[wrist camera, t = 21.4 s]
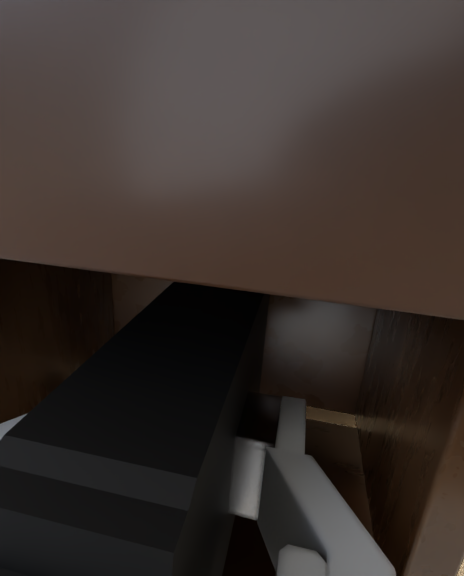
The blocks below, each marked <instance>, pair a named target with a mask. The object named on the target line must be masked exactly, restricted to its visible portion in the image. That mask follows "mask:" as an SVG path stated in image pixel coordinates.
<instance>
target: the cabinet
mask: <svg viewBox="0 0 464 576" xmlns="http://www.w3.org/2000/svg"><path fill="white" fill-rule="evenodd" d="M0 258H1V259H8V260H16V261H23V262H31V263H38V264H46V265H53V266H61V267H68V268H76V269H83V270H91V271H98V272H106V273H113V274H121V275H128V276H136V277H143V278H151V279H159V280H166V281H174V282H181V283H189V284H196V285H204V286H211V287H219V288H226V289H234V290H241V291H249V292H256V293H264V294H271V295H279V296H286V297H294V298H301V299H309V300H316V301H324V302H332V303H339V304H347V305H354V306H362V307H369V308H377V309H384V310H392V311H399V312H407V313H414V314H422V315H429V316H437V317H444V318H452V319H459V320H464V0H0Z"/></svg>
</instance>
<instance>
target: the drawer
mask: <svg viewBox="0 0 464 576" xmlns="http://www.w3.org/2000/svg"><path fill="white" fill-rule="evenodd" d="M173 282H174V281H166V280H159V279H151V278H143V277H136V276H128V275H121V274H113V273H106V272H98V271H91V270H83V269H76V268H68V267H61V266H53V265H46V264H38V263H31V262H23V261H16V260H8V259H1V258H0V424H1V423H3V422H6V421H9V420H11V419H14V418H17V417H19V416H22V415H25V414H27V413H29V412H30V411H31V410H32V409H33V408H34V407H35V406H37V405H38V404H39V403H40V402H41V401H42V400H43V399H44V398H45V397H47V396H48V395H49V394H50V393H51V392H52V391H53V390H54V389H55V388H57V387H58V386H59V385H60V384H61V383H62V382H63V381H64V380H65V379H67V378H68V377H69V376H70V375H71V374H72V373H73V372H74V371H75V370H76V369H78V368H79V367H80V366H81V365H82V364H83V363H84V362H85V361H86V360H88V359H89V358H90V357H91V356H92V355H93V354H94V353H95V352H96V351H98V350H99V349H100V348H101V347H102V346H103V345H104V344H105V343H106V342H108V341H109V340H110V339H111V338H112V337H113V336H114V335H115V334H116V333H117V332H119V331H120V330H121V329H122V328H123V327H124V326H125V325H126V324H127V323H129V322H130V321H131V320H132V319H133V318H134V317H135V316H136V315H137V314H139V313H140V312H141V311H142V310H143V309H144V308H145V307H146V306H147V305H149V304H150V303H151V302H152V301H153V300H154V299H155V298H156V297H157V296H158V295H160V294H161V293H162V292H163V291H164V290H165V289H166V288H167V287H168V286H170V285H171V284H172V283H173ZM259 393H264V394H270V395H276V396H281V400H282V396H286V397H293V398H299V399H305V401H306V406H310V407H315V408H321V409H326V410H332V411H337V412H343V413H349V414H354V415H355V419H356V426H357V428H354V427H348V426H343V425H337V424H332V423H327V422H321V421H316V420H311V419H306V428H305V455H310V456H312V457H313V458H314V459H315V461H316V462H317V463H318V465H319V466H320V467H321V469H322V470H323V471H324V473H325V474H326V476H327V477H328V478H329V480H330V481H331V482H332V484H333V485H334V486H335V488H336V489H337V490H338V492H339V493H340V495H341V496H342V497H343V499H344V500H345V501H346V503H347V504H348V505H349V507H350V508H351V510H352V511H353V512H354V514H355V515H356V516H357V518H358V519H359V520H360V522H361V523H362V524H363V526H364V527H365V529H366V530H367V531H368V533H369V534H370V535H371V537H372V538H373V539H374V541H375V542H376V543H377V545H378V546H379V548H380V549H381V550H382V552H383V553H384V554H385V556H386V557H387V558H388V560H389V561H390V562H391V564H392V565H393V567H394V568H395V571H396V576H457V574H458V571H459V569H460V566H461V564H462V562H463V559H464V320H459V319H452V318H444V317H437V316H429V315H422V314H414V313H407V312H399V311H392V310H384V309H377V308H369V307H362V306H354V305H347V304H339V303H332V302H324V301H316V300H309V299H301V298H294V297H286V296H279V295H271V294H270V295H269V305H268V315H267V324H266V334H265V343H264V353H263V362H262V372H261V381H260V391H259ZM278 422H279V421H278ZM275 574H276V571H275V569H274V566H273V563H272V561H271V558H270V555H269V553H268V550H267V548H266V545H265V542H264V540H263V537H262V534H261V532H260V529H259V526H258V524H257V521H256V520H253V519H249V518H245V517H242V516H238V515H235V519H234V524H233V528H232V533H231V537H230V542H229V547H228V551H227V556H226V560H225V565H224V569H223V574H222V576H275Z"/></svg>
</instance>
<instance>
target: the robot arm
mask: <svg viewBox="0 0 464 576" xmlns="http://www.w3.org/2000/svg"><path fill="white" fill-rule="evenodd" d="M280 406H281V407H280ZM279 413H280V414H279ZM27 414H28V413H27ZM27 414H25V415H22V416H19V417H17V418H14V419H11V420H9V421H6V422H3V423H1V424H0V440H1V439H2V437H3V436H4V434H6V433H7V432H8V431H9V430H10V429H11V428H12V427H13V426H14V425H16V424H17V423H18V422H19V421H20V420H21V419H22V418H23V417H24V416H26V415H27ZM278 421H279V422H278ZM305 428H306V401H305V399H299V398H293V397H286V396H282V400H281V396H276V395H270V394H264V393H258V392H252V391H248V394H247V397H246V401H245V404H244V408H243V411H242V415H241V419H240V422H239V426H238V429H237V433H236V437H235V443H234V455H233V467H232V479H231V491H230V503H229V513H230V514H234V515H238V516H242V517H245V518H249V519H253V520H256V521H257V524H258V526H259V529H260V532H261V534H262V537H263V540H264V542H265V545H266V548H267V550H268V553H269V555H270V558H271V561H272V563H273V566H274V569H275V571H276V574H275V576H396V571H395V568H394V567H393V565H392V564H391V562H390V561H389V560H388V558H387V557H386V556H385V554H384V553H383V552H382V550H381V549H380V548H379V546H378V545H377V543H376V542H375V541H374V539H373V538H372V537H371V535H370V534H369V533H368V531H367V530H366V529H365V527H364V526H363V524H362V523H361V522H360V520H359V519H358V518H357V516H356V515H355V514H354V512H353V511H352V510H351V508H350V507H349V505H348V504H347V503H346V501H345V500H344V499H343V497H342V496H341V495H340V493H339V492H338V490H337V489H336V488H335V486H334V485H333V484H332V482H331V481H330V480H329V478H328V477H327V476H326V474H325V473H324V471H323V470H322V469H321V467H320V466H319V465H318V463H317V462H316V461H315V459H314V458H313V457H312V456H310V455H305Z"/></svg>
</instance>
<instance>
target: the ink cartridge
mask: <svg viewBox="0 0 464 576" xmlns="http://www.w3.org/2000/svg"><path fill="white" fill-rule="evenodd" d="M269 295H270V294H264V293H256V292H249V291H241V290H234V289H226V288H219V287H211V286H204V285H196V284H189V283H181V282H173V283H172V284H171V285H170V286H168V287H167V288H166V289H165V290H164V291H163V292H162V293H161V294H160V295H158V296H157V297H156V298H155V299H154V300H153V301H152V302H151V303H150V304H149V305H147V306H146V307H145V308H144V309H143V310H142V311H141V312H140V313H139V314H137V315H136V316H135V317H134V318H133V319H132V320H131V321H130V322H129V323H127V324H126V325H125V326H124V327H123V328H122V329H121V330H120V331H119V332H117V333H116V334H115V335H114V336H113V337H112V338H111V339H110V340H109V341H108V342H106V343H105V344H104V345H103V346H102V347H101V348H100V349H99V350H98V351H96V352H95V353H94V354H93V355H92V356H91V357H90V358H89V359H88V360H86V361H85V362H84V363H83V364H82V365H81V366H80V367H79V368H78V369H76V370H75V371H74V372H73V373H72V374H71V375H70V376H69V377H68V378H67V379H65V380H64V381H63V382H62V383H61V384H60V385H59V386H58V387H57V388H55V389H54V390H53V391H52V392H51V393H50V394H49V395H48V396H47V397H45V398H44V399H43V400H42V401H41V402H40V403H39V404H38V405H37V406H35V407H34V408H33V409H32V410H31V411H30V412H29V413H28V414H27V415H26V416H24V417H23V418H22V419H21V420H20V421H19V422H18V423H17V424H16V425H14V426H13V427H12V428H11V429H10V430H9V431H8V432H7V433H6V434H4V436H3V437H2V439H1V440H0V576H222V574H223V569H224V565H225V560H226V556H227V551H228V547H229V542H230V537H231V533H232V528H233V524H234V519H235V515H234V514H230V513H229V503H230V491H231V479H232V467H233V455H234V443H235V437H236V433H237V429H238V426H239V422H240V419H241V415H242V411H243V408H244V404H245V401H246V397H247V394H248V391H252V392H258V393H259V391H260V381H261V372H262V362H263V353H264V343H265V334H266V324H267V315H268V305H269Z"/></svg>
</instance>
